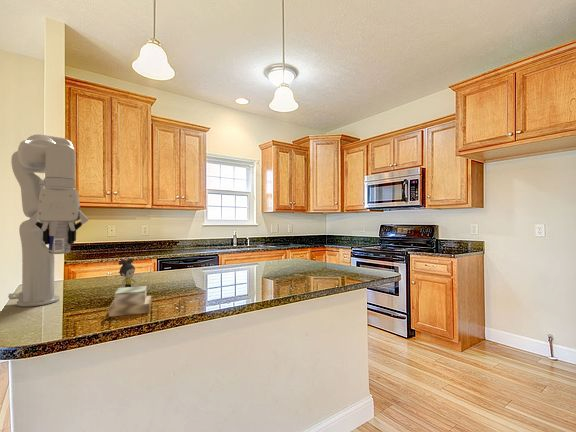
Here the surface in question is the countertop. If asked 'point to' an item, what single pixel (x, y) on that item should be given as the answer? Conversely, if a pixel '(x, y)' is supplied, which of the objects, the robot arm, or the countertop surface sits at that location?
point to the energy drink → (59, 237)
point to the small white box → (130, 301)
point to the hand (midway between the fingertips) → (59, 243)
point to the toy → (127, 272)
